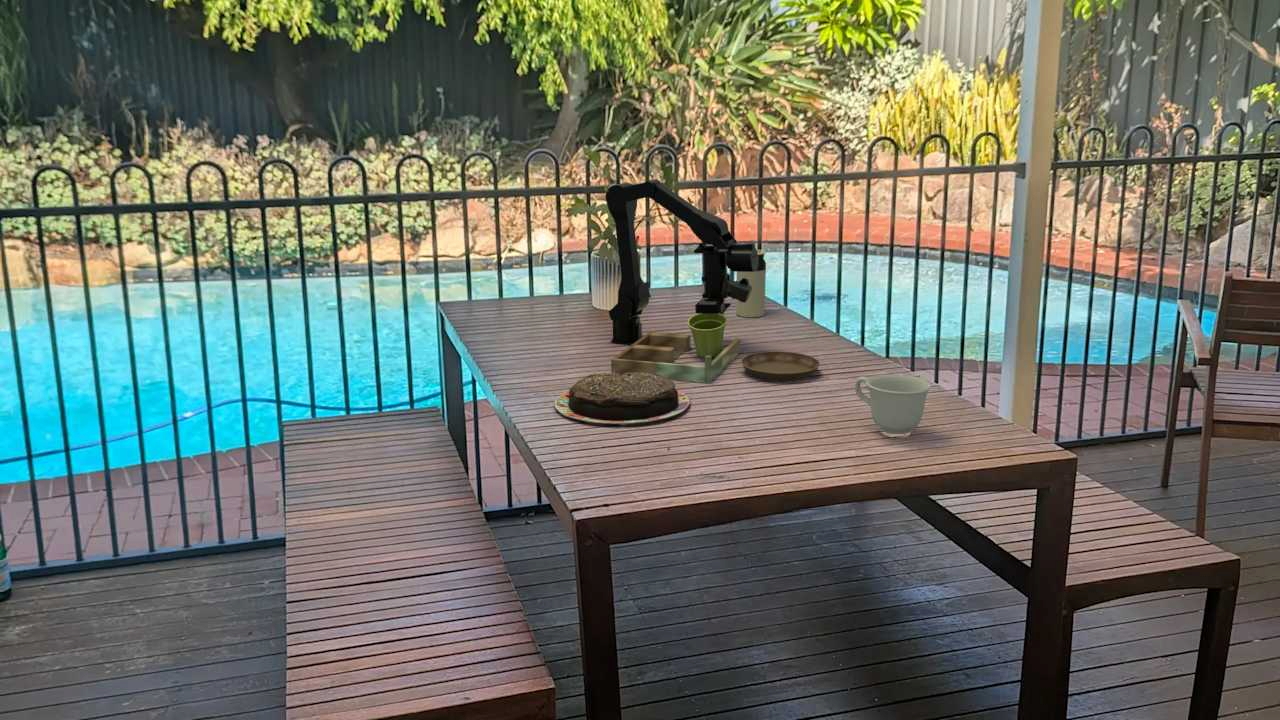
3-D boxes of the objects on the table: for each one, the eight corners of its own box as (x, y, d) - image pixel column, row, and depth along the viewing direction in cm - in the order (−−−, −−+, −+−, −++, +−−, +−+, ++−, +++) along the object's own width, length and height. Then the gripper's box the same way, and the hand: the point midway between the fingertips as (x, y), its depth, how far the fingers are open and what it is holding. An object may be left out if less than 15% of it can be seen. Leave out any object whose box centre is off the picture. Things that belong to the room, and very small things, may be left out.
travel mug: (769, 313, 305) (771, 250, 300) (756, 319, 298) (758, 254, 294) (743, 310, 309) (745, 248, 304) (731, 316, 302) (732, 252, 298)
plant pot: (682, 357, 260) (680, 325, 256) (702, 340, 267) (700, 308, 263) (716, 365, 255) (714, 333, 251) (735, 348, 262) (734, 316, 258)
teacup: (868, 416, 215) (870, 368, 213) (938, 431, 206) (942, 381, 204) (838, 431, 206) (840, 381, 204) (910, 448, 197) (914, 396, 195)
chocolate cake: (538, 396, 231) (537, 366, 229) (660, 382, 240) (660, 354, 239) (577, 436, 206) (577, 403, 204) (712, 420, 215) (712, 388, 213)
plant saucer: (817, 387, 236) (817, 373, 235) (736, 382, 240) (736, 369, 239) (821, 366, 253) (821, 353, 252) (745, 362, 256) (745, 349, 256)
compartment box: (611, 374, 245) (610, 348, 244) (650, 345, 271) (650, 321, 269) (709, 383, 238) (710, 357, 237) (740, 352, 264) (740, 328, 262)
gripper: (740, 278, 250) (742, 344, 254) (755, 263, 267) (757, 325, 271) (693, 279, 253) (696, 343, 257) (711, 263, 270) (714, 324, 274)
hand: (718, 333), depth 265 cm, fingers closed
